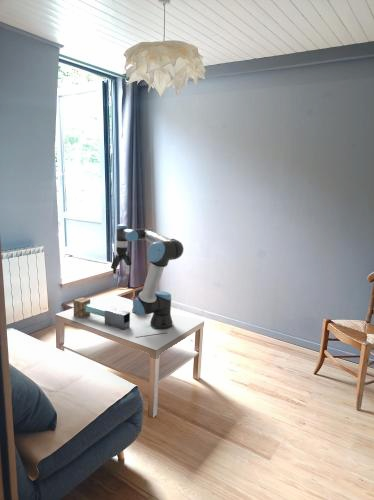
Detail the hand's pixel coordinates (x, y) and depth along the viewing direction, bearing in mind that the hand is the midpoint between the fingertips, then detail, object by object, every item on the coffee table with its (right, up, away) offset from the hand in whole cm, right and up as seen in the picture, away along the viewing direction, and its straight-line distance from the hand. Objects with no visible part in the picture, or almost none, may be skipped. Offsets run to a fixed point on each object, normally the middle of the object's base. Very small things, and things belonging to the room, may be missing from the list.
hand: (121, 275), depth 265 cm
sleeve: (0, -32, -16) cm, 36 cm away
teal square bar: (-17, -26, -8) cm, 31 cm away
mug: (+11, -27, +13) cm, 32 cm away
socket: (-28, -28, -1) cm, 39 cm away
